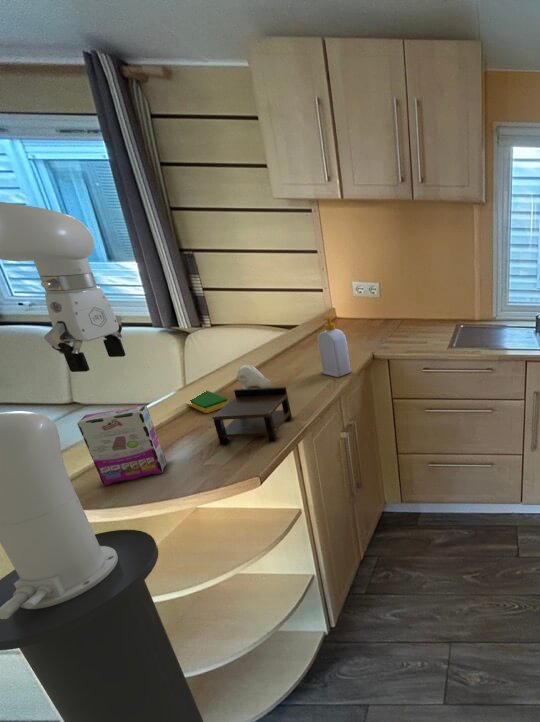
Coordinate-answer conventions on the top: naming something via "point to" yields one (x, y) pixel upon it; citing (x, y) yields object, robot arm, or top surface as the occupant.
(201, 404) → the dish sponge
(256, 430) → the rack
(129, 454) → the candy bar box
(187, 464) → the top surface
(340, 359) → the soap bottle
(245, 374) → the white rounded lump
